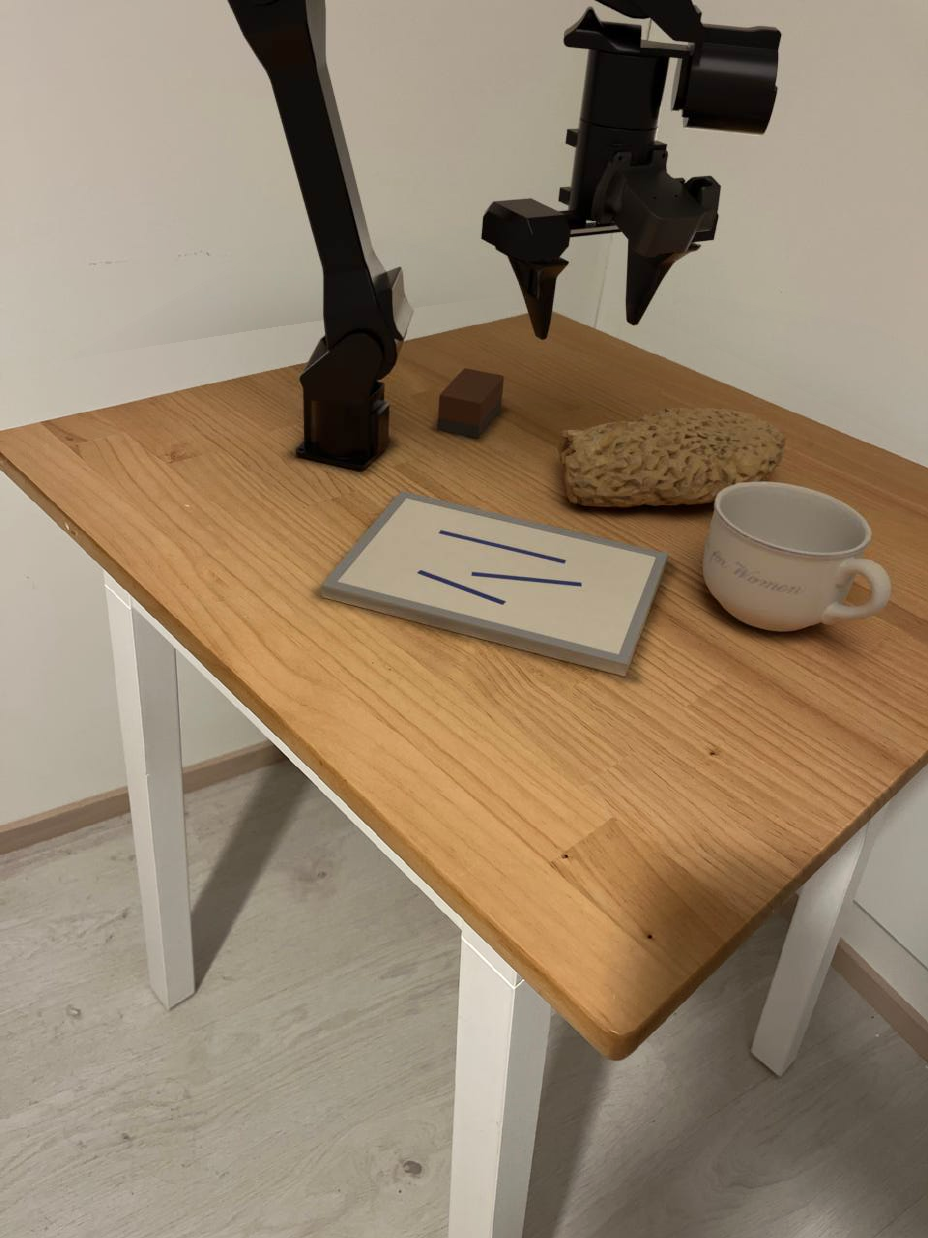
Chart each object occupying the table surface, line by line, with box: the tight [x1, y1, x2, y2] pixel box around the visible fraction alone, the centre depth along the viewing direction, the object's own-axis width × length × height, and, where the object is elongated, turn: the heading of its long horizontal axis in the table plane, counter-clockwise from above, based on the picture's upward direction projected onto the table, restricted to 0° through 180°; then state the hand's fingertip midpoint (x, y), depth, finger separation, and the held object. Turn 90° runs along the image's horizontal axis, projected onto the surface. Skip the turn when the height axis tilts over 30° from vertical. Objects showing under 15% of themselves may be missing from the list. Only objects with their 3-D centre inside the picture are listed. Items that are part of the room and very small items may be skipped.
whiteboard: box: [321, 490, 670, 678], centre depth 79 cm, size 22×15×1 cm
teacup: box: [702, 480, 892, 633], centre depth 75 cm, size 14×11×8 cm
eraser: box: [436, 367, 505, 439], centre depth 100 cm, size 4×7×4 cm, turn 161°
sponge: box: [557, 406, 787, 508], centre depth 91 cm, size 13×8×20 cm
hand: (587, 330), depth 86 cm, fingers open, 9 cm apart
